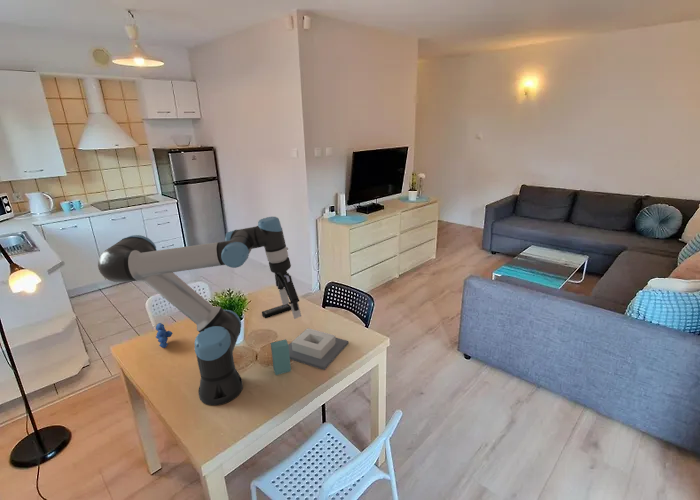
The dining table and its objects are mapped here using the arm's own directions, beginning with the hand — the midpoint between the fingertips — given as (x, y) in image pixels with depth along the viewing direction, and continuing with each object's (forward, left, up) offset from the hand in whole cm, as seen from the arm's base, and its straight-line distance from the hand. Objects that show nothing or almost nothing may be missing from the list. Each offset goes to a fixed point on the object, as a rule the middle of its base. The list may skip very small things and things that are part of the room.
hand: (291, 310), depth 141 cm
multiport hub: (+29, +33, -24) cm, 50 cm away
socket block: (+10, -2, -24) cm, 26 cm away
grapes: (-16, +58, -24) cm, 65 cm away
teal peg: (-7, +2, -24) cm, 25 cm away
